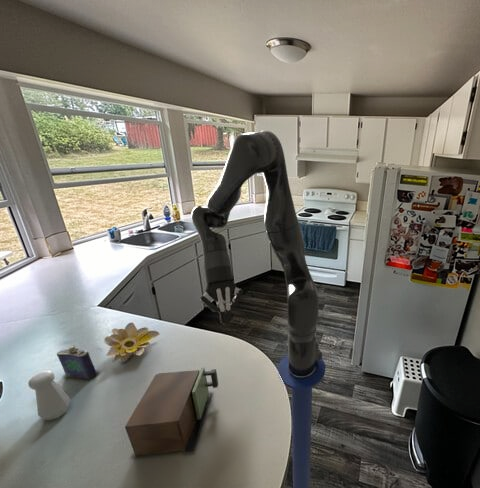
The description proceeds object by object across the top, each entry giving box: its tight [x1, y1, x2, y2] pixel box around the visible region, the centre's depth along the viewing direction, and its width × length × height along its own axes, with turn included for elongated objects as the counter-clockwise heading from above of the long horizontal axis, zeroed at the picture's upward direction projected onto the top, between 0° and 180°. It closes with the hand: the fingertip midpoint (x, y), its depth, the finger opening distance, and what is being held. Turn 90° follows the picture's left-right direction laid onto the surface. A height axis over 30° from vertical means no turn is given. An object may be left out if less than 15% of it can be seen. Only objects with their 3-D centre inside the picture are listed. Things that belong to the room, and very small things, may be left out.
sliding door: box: [192, 366, 219, 420], centre depth 67 cm, size 4×8×10 cm, turn 8°
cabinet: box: [124, 369, 212, 457], centre depth 63 cm, size 13×15×10 cm
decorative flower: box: [103, 322, 161, 363], centre depth 85 cm, size 15×11×10 cm
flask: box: [56, 344, 98, 380], centre depth 76 cm, size 9×3×11 cm, turn 85°
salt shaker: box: [27, 370, 71, 421], centre depth 64 cm, size 6×6×13 cm
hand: (226, 324), depth 74 cm, fingers closed
